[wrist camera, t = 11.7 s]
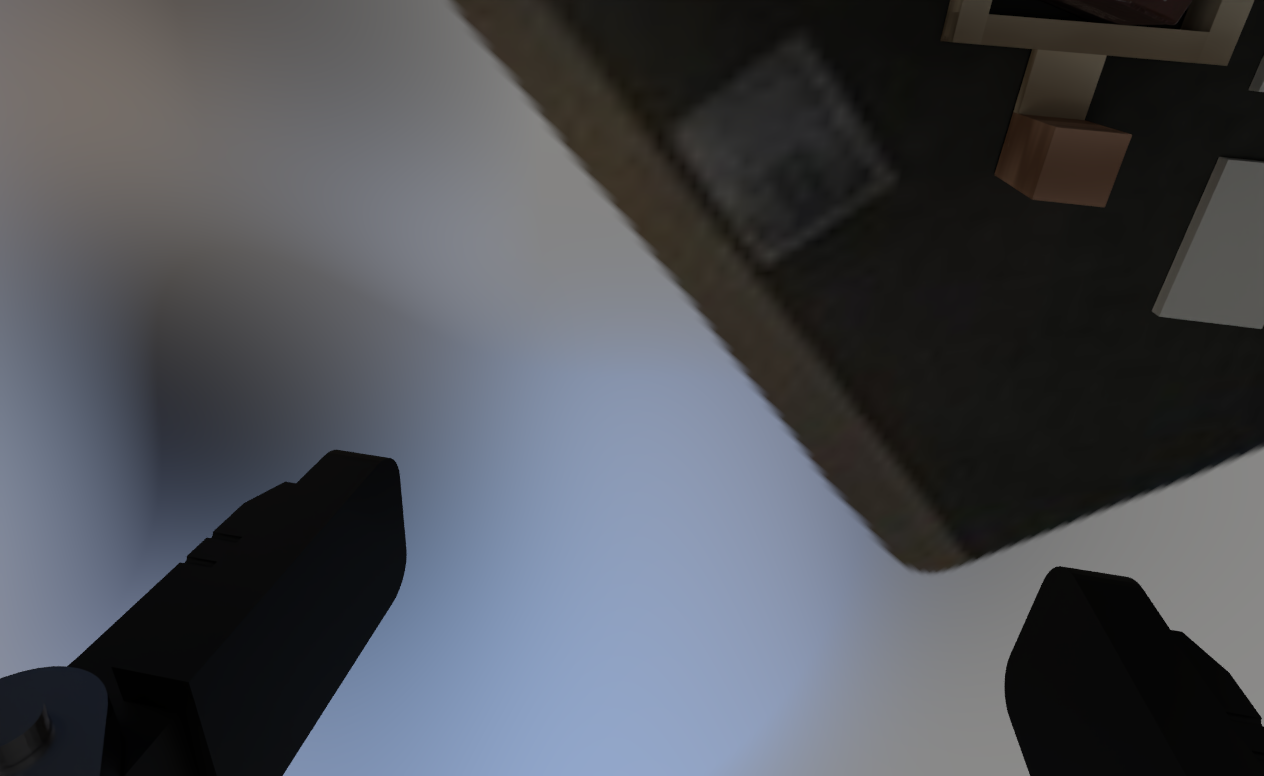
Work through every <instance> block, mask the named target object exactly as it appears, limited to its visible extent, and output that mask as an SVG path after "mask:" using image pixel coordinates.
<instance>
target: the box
mask: <svg viewBox="0 0 1264 776" xmlns="http://www.w3.org/2000/svg"><path fill="white" fill-rule="evenodd" d="M1041 1H1043V2H1046V3H1048V4H1051V5H1053V6H1055V7H1057V8H1060V9H1062V10H1065V11H1067V12H1069V13H1072V14H1074V15H1076V16H1078V17H1080V18H1083V19H1086V20H1088V21H1090V22H1092V23H1103V24H1116V25H1164V24H1166V25H1175V24H1176V23H1178V21H1179V20H1180V18H1181V16H1182V15H1183V13H1184V12H1185V10H1186V9H1187V8H1188V6H1189V5H1190V3H1191V2H1192V0H1041Z"/></svg>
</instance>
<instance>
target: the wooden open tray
mask: <svg viewBox="0 0 1264 776" xmlns="http://www.w3.org/2000/svg"><path fill="white" fill-rule="evenodd" d="M1253 2H1254V0H1192V2H1191V3H1190V5H1189V8H1188V10H1187V13H1186V16H1185V18H1184V21H1183V23H1182V26H1181V29H1180V30H1177V29H1165V28H1152V27H1140V26H1128V25H1116V24H1103V23H1091V22H1079V21H1066V20H1054V19H1042V18H1029V17H1017V16H1005V15H992V14H989V11H990V7H991V3H992V0H950V3H949V7H948V11H947V15H946V20H945V24H944V28H943V32H942V36H941V40H940V41H946V42H956V43H968V44H979V45H991V46H1003V47H1014V48H1026V49H1032V52H1031V55H1030V58H1029V62H1028V65H1027V68H1026V72H1025V75H1024V78H1023V82H1022V85H1021V88H1020V91H1019V95H1018V98H1017V101H1016V105H1015V108H1014V111H1013V115H1012V118H1011V121H1010V125H1009V128H1008V131H1007V135H1006V138H1005V141H1004V145H1003V148H1002V151H1001V155H1000V158H999V161H998V165H997V168H996V171H995V174H994V175H995V176H997V177H998V178H1000V179H1002V180H1003V181H1005V182H1006V183H1008V184H1009V185H1011V186H1012V187H1014V188H1015V189H1017V190H1018V191H1020V192H1021V193H1023V194H1024V195H1026V196H1027V197H1029V198H1030V199H1032V200H1041V201H1050V202H1059V203H1069V204H1078V205H1087V206H1097V207H1105V205H1106V202H1107V200H1108V197H1109V195H1110V192H1111V189H1112V187H1113V184H1114V181H1115V179H1116V176H1117V173H1118V171H1119V168H1120V165H1121V163H1122V160H1123V158H1124V155H1125V152H1126V150H1127V147H1128V144H1129V142H1130V139H1131V136H1132V134H1129V133H1125V132H1122V131H1119V130H1115V129H1112V128H1109V127H1105V126H1102V125H1099V124H1095V123H1092V122H1089V121H1086V120H1085V117H1086V114H1087V111H1088V108H1089V106H1090V103H1091V100H1092V97H1093V94H1094V91H1095V88H1096V85H1097V82H1098V80H1099V77H1100V74H1101V71H1102V68H1103V65H1104V62H1105V59H1106V56H1107V55H1108V56H1120V57H1131V58H1143V59H1155V60H1166V61H1178V62H1190V63H1201V64H1213V65H1225V66H1227V65H1228V62H1229V60H1230V57H1231V55H1232V53H1233V50H1234V48H1235V45H1236V43H1237V41H1238V38H1239V36H1240V34H1241V31H1242V29H1243V26H1244V24H1245V22H1246V19H1247V17H1248V14H1249V12H1250V10H1251V7H1252V5H1253Z"/></svg>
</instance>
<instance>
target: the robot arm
mask: <svg viewBox="0 0 1264 776" xmlns="http://www.w3.org/2000/svg"><path fill="white" fill-rule="evenodd" d="M405 565H406V540H405V529H404V518H403V506H402V495H401V484H400V474H399V469H398V466H397V464H396V462H395V461H394V460H393V459H391V458H386V457H379V456H373V455H366V454H360V453H354V452H348V451H341V450H333V451H330V452H328V453H327V454H326V455H325V456H324V457H323V458H322V459H321V460H320V461H319V462H318V463H317V464H316V465H314V467H312V468H311V469H310V470H309V471H308V472H307V473H306V474H305V475H304V476H303V477H302V478H301V479H300V480H299V481H298V482H297V483H290V482H284V483H282V484H280V485H278V486H276V487H274V488H272V489H270V490H268V491H267V492H265V493H263V494H261V495H259V496H257V497H255V498H253V499H251V500H249V501H247V502H245V503H244V504H243V505H242V506H241V507H239V508H238V509H237V510H236V511H235V512H234V513H233V514H232V515H231V516H230V517H229V518H228V519H227V520H225V521H224V522H223V523H222V524H221V525H220V526H219V527H218V528H217V529H216V530H215V531H214V532H213V536H212V538H206V539H205V540H204V541H203V542H202V543H201V544H199V545H198V546H197V547H196V548H195V549H194V550H193V551H192V552H191V553H190V554H189V555H188V556H187V560H186V562H185V563H179V564H178V565H177V566H176V567H175V568H174V569H172V570H171V571H170V572H169V573H168V574H167V575H166V576H165V577H164V578H163V579H162V580H161V581H160V582H158V583H157V584H156V585H155V586H154V587H153V588H152V589H151V590H150V591H149V592H148V593H147V594H145V595H144V596H143V597H142V598H141V599H140V600H139V601H138V602H137V603H136V604H135V605H134V606H133V607H131V608H130V609H129V610H128V611H127V612H126V613H125V614H124V615H123V616H122V617H121V618H120V619H119V620H117V622H115V623H114V624H113V625H112V626H111V627H110V628H109V629H108V630H107V631H106V632H104V633H103V634H102V635H101V636H100V637H99V638H98V639H97V640H96V641H95V642H94V643H93V644H92V645H91V646H89V647H88V648H87V649H86V650H85V651H84V652H83V653H82V654H81V655H80V656H79V657H78V658H76V659H75V660H74V661H73V662H72V663H71V664H69V665H68V666H67V667H61V666H57V667H55V666H53V667H44V668H37V669H32V670H27V671H23V672H19V673H16V674H13V675H10V676H6V677H3V678H1V679H0V776H283V774H284V773H285V771H286V769H287V768H288V766H289V765H290V763H291V762H292V760H293V758H294V757H295V755H296V754H297V752H298V751H299V749H300V747H301V746H302V744H303V743H304V741H305V740H306V738H307V737H308V735H309V733H310V731H311V730H312V729H313V727H314V726H315V724H316V722H317V721H318V719H319V718H320V716H321V715H322V713H323V711H324V710H325V708H326V707H327V705H328V703H329V702H330V700H331V699H332V697H333V696H334V694H335V693H336V691H337V689H338V688H339V686H340V685H341V683H342V681H343V680H344V678H345V677H346V675H347V674H348V672H349V670H350V669H351V667H352V666H353V664H354V663H355V661H356V659H357V658H358V656H359V655H360V653H361V652H362V650H363V649H364V647H365V645H366V644H367V642H368V641H369V639H370V638H371V636H372V634H373V633H374V631H375V630H376V628H377V627H378V625H379V623H380V622H381V620H382V619H383V617H384V616H385V614H386V613H387V611H388V609H389V608H390V606H391V605H392V603H393V601H394V600H395V598H396V596H397V594H398V591H399V589H400V586H401V583H402V580H403V576H404V571H405ZM1005 699H1006V706H1007V710H1008V714H1009V717H1010V720H1011V723H1012V726H1013V729H1014V731H1015V734H1016V737H1017V740H1018V743H1019V745H1020V748H1021V751H1022V754H1023V757H1024V760H1025V762H1026V765H1027V768H1028V771H1029V774H1030V776H1264V727H1263V726H1262V724H1261V719H1262V718H1261V716H1260V715H1259V714H1258V712H1257V711H1256V709H1255V708H1254V707H1253V705H1252V704H1251V703H1250V701H1249V700H1248V698H1247V697H1246V695H1244V693H1243V691H1242V690H1241V689H1240V687H1239V686H1238V684H1237V683H1236V682H1235V680H1234V679H1233V677H1232V676H1231V675H1230V673H1229V672H1228V671H1226V670H1225V669H1224V668H1223V667H1222V666H1221V665H1220V664H1218V663H1217V662H1216V661H1215V660H1214V659H1213V658H1212V657H1210V656H1209V655H1208V654H1207V653H1206V652H1205V651H1204V650H1202V649H1201V648H1200V647H1199V646H1198V645H1197V644H1195V643H1194V642H1193V641H1192V640H1191V639H1190V638H1188V637H1187V636H1186V635H1185V634H1184V633H1183V632H1180V631H1174V630H1170V629H1169V627H1168V626H1167V624H1166V623H1165V621H1164V620H1163V618H1162V617H1161V615H1160V614H1159V612H1158V611H1157V609H1156V608H1155V606H1154V605H1153V603H1152V602H1151V600H1150V599H1149V597H1148V596H1147V594H1146V593H1145V591H1144V590H1143V589H1142V587H1141V586H1140V585H1139V584H1138V583H1137V582H1136V581H1135V580H1133V579H1131V578H1129V577H1124V576H1117V575H1111V574H1105V573H1099V572H1092V571H1086V570H1079V569H1074V568H1067V567H1061V566H1059V567H1055V568H1053V569H1052V570H1051V571H1050V572H1049V573H1048V574H1047V575H1046V577H1045V579H1044V581H1043V583H1042V585H1041V587H1040V590H1039V592H1038V594H1037V596H1036V598H1035V601H1034V603H1033V605H1032V607H1031V610H1030V612H1029V614H1028V616H1027V619H1026V621H1025V623H1024V625H1023V628H1022V630H1021V632H1020V634H1019V637H1018V639H1017V641H1016V643H1015V646H1014V648H1013V650H1012V652H1011V655H1010V657H1009V660H1008V663H1007V667H1006V673H1005Z"/></svg>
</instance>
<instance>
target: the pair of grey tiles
mask: <svg viewBox="0 0 1264 776" xmlns="http://www.w3.org/2000/svg"><path fill="white" fill-rule="evenodd" d="M1249 90H1251V91H1258V92H1264V55H1263V58H1262V60H1261V62H1260V64H1259V67H1258V69H1257V71H1256V74H1255V76H1254V78H1253V80H1252V83H1251V85H1250V87H1249ZM1152 312H1154V313H1155V314H1156V315H1158V316H1159V317H1167V318H1176V319H1184V320H1192V321H1200V322H1208V323H1217V324H1225V325H1233V326H1241V327H1250V328H1258V329H1262V327H1263V325H1264V161H1257V160H1247V159H1237V158H1227V157H1219V158H1218V160H1217V163H1216V165H1215V167H1214V170H1213V172H1212V174H1211V176H1210V179H1209V181H1208V183H1207V186H1206V188H1205V190H1204V193H1203V195H1202V197H1201V199H1200V202H1199V204H1198V206H1197V209H1196V211H1195V213H1194V215H1193V218H1192V220H1191V222H1190V225H1189V227H1188V229H1187V231H1186V234H1185V236H1184V238H1183V241H1182V243H1181V245H1180V247H1179V250H1178V252H1177V254H1176V257H1175V259H1174V261H1173V263H1172V266H1171V268H1170V270H1169V273H1168V275H1167V277H1166V279H1165V282H1164V284H1163V286H1162V289H1161V291H1160V293H1159V295H1158V298H1157V300H1156V302H1155V305H1154V307H1153V309H1152Z"/></svg>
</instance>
